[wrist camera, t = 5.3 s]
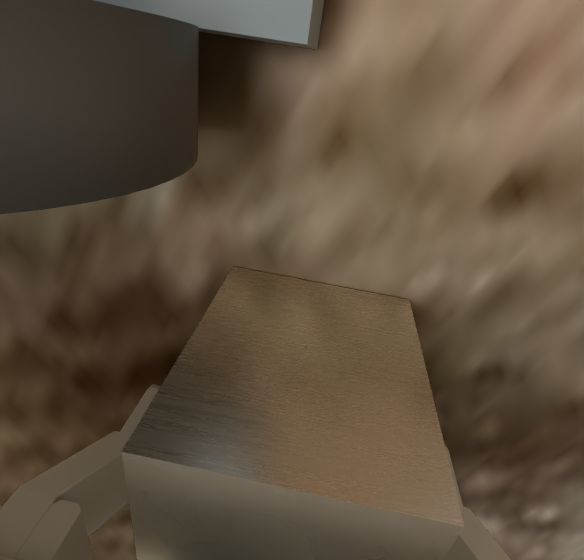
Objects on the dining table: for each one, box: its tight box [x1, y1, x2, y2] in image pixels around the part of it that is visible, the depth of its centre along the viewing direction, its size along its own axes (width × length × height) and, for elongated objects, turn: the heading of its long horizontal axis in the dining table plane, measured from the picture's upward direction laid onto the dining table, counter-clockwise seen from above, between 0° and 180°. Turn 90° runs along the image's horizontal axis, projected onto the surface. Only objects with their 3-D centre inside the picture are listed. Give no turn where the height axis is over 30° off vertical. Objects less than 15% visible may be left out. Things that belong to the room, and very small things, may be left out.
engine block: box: [121, 266, 464, 560], centre depth 10 cm, size 7×5×6 cm
